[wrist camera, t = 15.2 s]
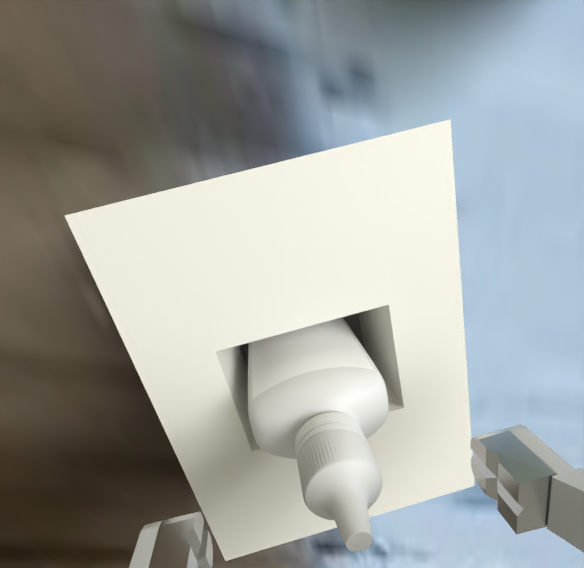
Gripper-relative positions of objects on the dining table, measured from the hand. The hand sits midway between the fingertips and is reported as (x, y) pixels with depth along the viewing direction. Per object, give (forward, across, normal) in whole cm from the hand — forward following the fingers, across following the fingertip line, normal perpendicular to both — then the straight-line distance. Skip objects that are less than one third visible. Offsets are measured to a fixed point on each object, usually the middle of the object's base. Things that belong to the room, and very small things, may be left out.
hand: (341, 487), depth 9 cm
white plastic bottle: (+11, 0, 0) cm, 11 cm away
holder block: (+11, 0, 0) cm, 11 cm away
